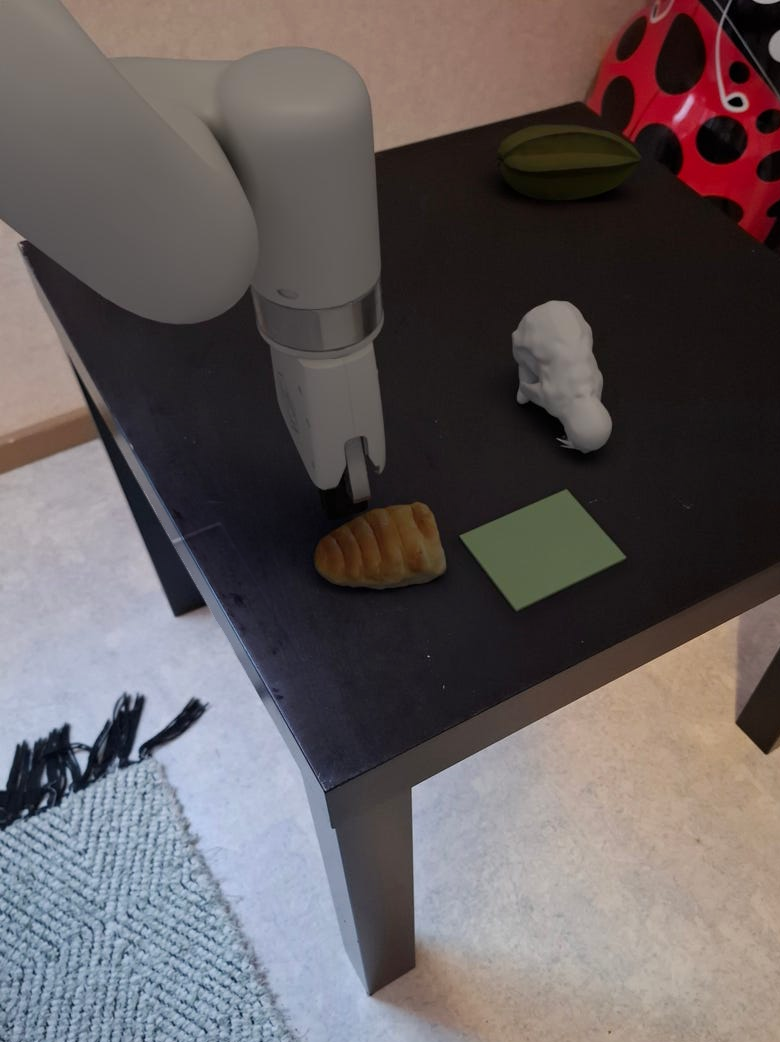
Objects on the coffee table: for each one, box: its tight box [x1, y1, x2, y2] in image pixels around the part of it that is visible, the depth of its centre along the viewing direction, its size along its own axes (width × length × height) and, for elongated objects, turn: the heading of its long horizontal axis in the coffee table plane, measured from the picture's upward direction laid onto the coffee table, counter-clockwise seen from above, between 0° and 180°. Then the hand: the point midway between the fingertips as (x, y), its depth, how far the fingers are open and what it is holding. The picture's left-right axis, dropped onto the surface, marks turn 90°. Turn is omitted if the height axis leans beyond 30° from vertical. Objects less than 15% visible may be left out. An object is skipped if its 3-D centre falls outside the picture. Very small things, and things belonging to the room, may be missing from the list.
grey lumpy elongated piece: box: [511, 300, 613, 454], centre depth 74 cm, size 6×8×12 cm
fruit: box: [496, 123, 644, 202], centre depth 94 cm, size 11×12×7 cm
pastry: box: [314, 501, 447, 590], centre depth 66 cm, size 9×7×4 cm
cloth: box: [458, 488, 627, 613], centre depth 69 cm, size 10×8×1 cm
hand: (344, 508), depth 68 cm, fingers closed
